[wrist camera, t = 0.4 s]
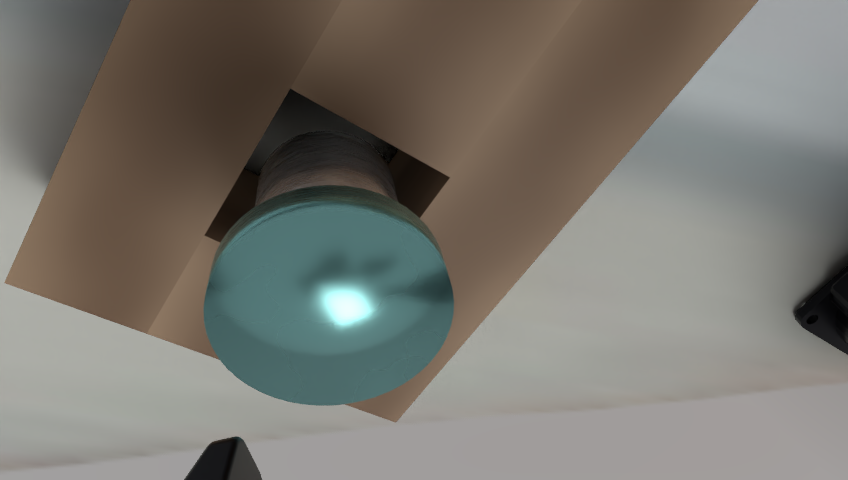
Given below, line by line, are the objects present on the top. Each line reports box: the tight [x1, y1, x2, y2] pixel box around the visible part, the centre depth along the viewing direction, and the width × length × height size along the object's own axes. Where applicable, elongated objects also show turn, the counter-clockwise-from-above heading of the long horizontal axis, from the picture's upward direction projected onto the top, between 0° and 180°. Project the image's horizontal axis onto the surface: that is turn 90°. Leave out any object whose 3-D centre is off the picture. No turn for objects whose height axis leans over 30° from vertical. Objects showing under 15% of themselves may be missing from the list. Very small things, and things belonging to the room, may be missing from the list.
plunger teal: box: [203, 131, 454, 405], centre depth 16 cm, size 5×5×5 cm
